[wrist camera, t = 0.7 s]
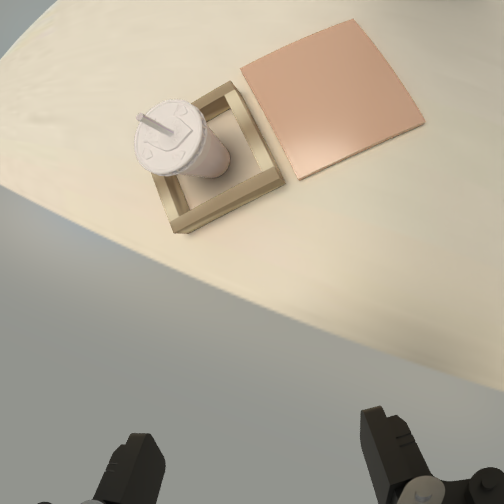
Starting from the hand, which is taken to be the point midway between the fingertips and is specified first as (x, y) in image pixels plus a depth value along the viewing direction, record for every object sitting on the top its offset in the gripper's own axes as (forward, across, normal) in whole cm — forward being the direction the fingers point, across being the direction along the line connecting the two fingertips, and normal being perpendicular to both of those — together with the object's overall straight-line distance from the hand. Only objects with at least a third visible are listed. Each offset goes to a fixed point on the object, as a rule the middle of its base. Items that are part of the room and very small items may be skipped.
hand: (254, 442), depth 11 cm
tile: (+24, -10, -16) cm, 31 cm away
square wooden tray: (+26, +3, -11) cm, 28 cm away
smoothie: (+26, +3, -11) cm, 28 cm away
